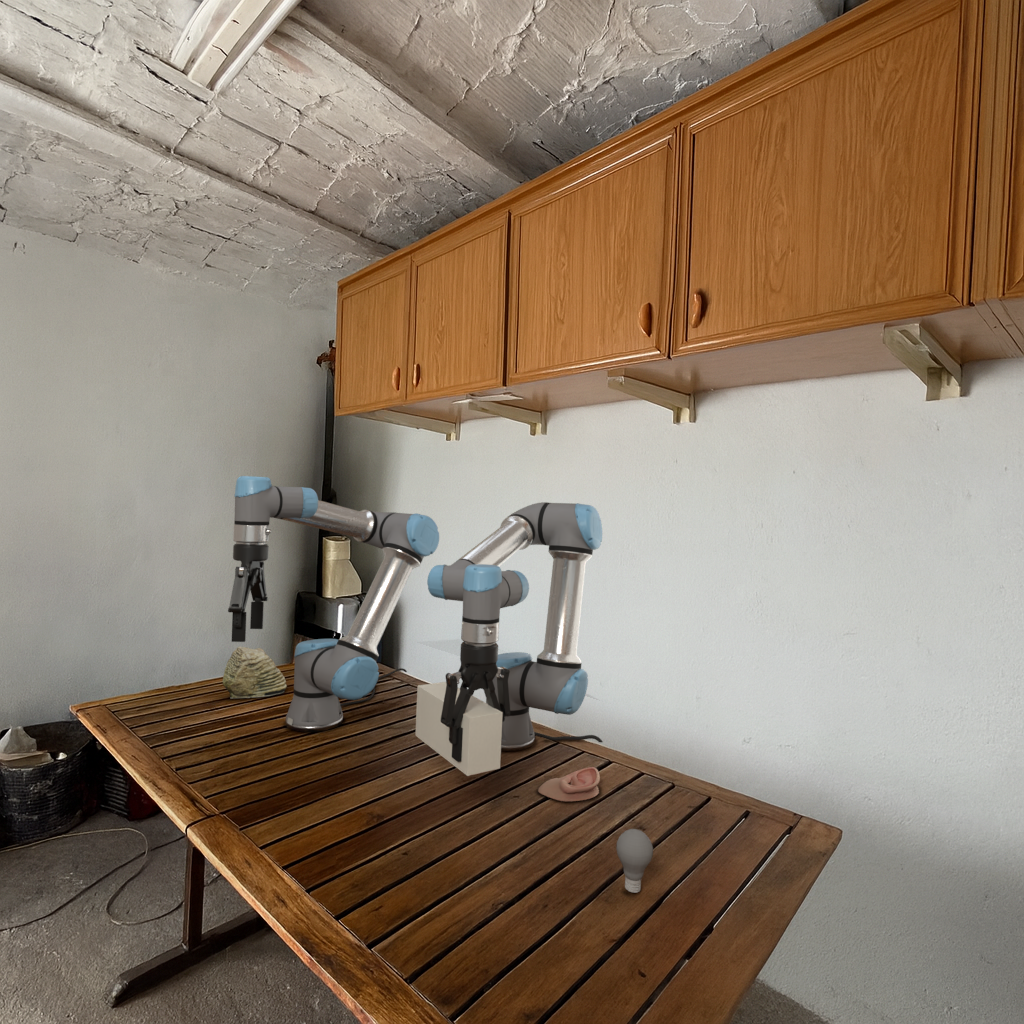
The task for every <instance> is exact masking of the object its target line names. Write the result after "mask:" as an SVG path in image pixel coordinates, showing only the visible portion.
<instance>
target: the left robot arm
mask: <svg viewBox="0 0 1024 1024" xmlns="http://www.w3.org/2000/svg"><path fill="white" fill-rule="evenodd" d="M234 489H235V490H234V495H233V496H234V523H233V538H232V539H233V540H232V541H233V542H235V543H234V545H233V547H232V559H233V560H234V561H235V562H236V561H237V562H240V566H235V569H234V570H235V571H234V579H233V585H232V586H233V587H232V591H231V595H230V601H229V606H228V608H227V613H232V614H231V615H232V618H231V619H232V621H231V643H245V642H246V638H247V637H246V634H247V611H246V608H247V603H248V599H249V596H250V595H251V597H252V598H251V599H252V601H251V602H250V621H249V623H250V624H249V625H250V626H249V629H250V630H263V628H264V602H268V600H269V598H268V594H267V585H266V576H265V562H266V561H267V560H269V548H270V547H269V545H268V542H269V537H270V534H271V533H272V529H271V528H270V522H271V521H270V520H271V518H272V519H278V520H282V521H287V522H291V523H295V524H298V525H304V526H306V527H307V526H308V527H312V528H316V529H320V530H324V531H328V532H333V533H337V534H341V535H345V536H349V537H353V539H354V540H355V541H357V542H358V543H363V544H367V545H369V546H372V547H375V548H378V549H381V551H382V553H383V555H384V557H383V560H382V561H381V563H380V565H379V568H378V570H377V572H376V574H375V576H374V578H373V580H372V582H371V584H370V586H369V588H368V591H367V592H366V595H365V597H364V598H363V601H362V603H361V606H360V608H359V610H358V612H357V614H356V616H355V618H354V620H353V622H352V623H351V626H350V628H349V631H348V632H347V634H346V635H345V636H342V637H340V638H339V639H337V638H318V639H308V640H304V641H300V642H299V643H297V644H296V646H295V650H294V655H293V657H294V672H293V673H294V674H293V695H292V696H293V697H292V699H291V702H290V704H289V708H288V711H287V713H286V715H285V726H286V728H287V729H289V730H291V731H294V732H295V731H296V732H301V733H316V732H325V731H329V730H332V729H335V728H337V727H339V726H340V725H342V723H343V722H344V714H343V709H342V707H344V706H351V705H356V704H360V703H364V702H367V701H369V700H371V699H372V698H373V697H374V695H375V694H376V688H375V687H376V686H377V683H378V680H380V679H383V678H385V677H389V676H391V675H393V674H395V673H397V672H400V671H403V672H405V673H407V672H408V671H407V670H406V669H405V668H404V667H403V668H402V667H401V668H397V669H394V670H393V671H391V672H387V673H386V674H382V675H380V672H379V669H380V668H379V665H378V663H377V661H378V659H379V656H380V654H379V651H378V645H379V644H380V641H381V639H382V637H383V635H384V632H385V630H386V628H387V626H388V624H389V621H390V619H391V617H392V615H393V612H394V611H395V608H396V606H397V605H398V602H399V599H400V598H401V595H402V593H403V591H404V589H405V586H406V584H407V582H408V580H409V578H410V575H411V573H412V571H413V570H414V569H417V568H418V567H420V566H421V564H422V562H423V560H424V558H425V557H429V556H430V555H433V554H434V553H435V552H436V550H437V549H438V546H439V543H440V531H439V527H438V525H437V523H436V521H435V520H434V519H433V518H432V517H430V516H428V515H426V514H421V513H417V512H416V513H405V512H394V511H393V512H389V511H388V512H387V511H374V510H370V509H362V510H360V511H359V510H356V509H353V508H349V507H345V506H341V505H338V504H334V503H330V502H327V501H323V500H319V497H318V494H317V492H316V491H315V490H314V489H313V488H311V487H304V486H280V485H279V486H277V485H272V479H271V478H270V477H267V476H254V475H253V476H251V475H240V476H239V477H238V478H237V479H236V481H235V488H234ZM395 671H396V672H395ZM371 692H372V693H371ZM370 693H371V695H369V694H370ZM368 695H369V697H367V698H364V697H366V696H368ZM362 698H364V699H362ZM340 699H341V700H347V702H343V703H341V702H340Z"/></svg>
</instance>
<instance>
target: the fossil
mask: <svg viewBox="0 0 1024 1024" xmlns="http://www.w3.org/2000/svg"><path fill="white" fill-rule="evenodd" d="M222 676H223V677H222V685H223V687H224V688H225V690H226V691H228V693H229V698H230V699H250V698H264V697H271V696H275V695H281V694H284V693H285V691H286V689H287V687H288V686H287V680H286V678H285V676H284V674H283V673H282V672H281V669H279V668H278V667H277V665H276V663H275V662H274V660H273V659H272V658H271V657H270V656H269V655H268V654H267V653H266V652H265V650H264V649H263V648H260V647H258V648H251V647H247V646H246V647H245V646H238V647H237V648H236V649H235V650H233V651H232V653H231V656H230V657H229V659H228V660H227V663H226V666H225V668H224V671H223V675H222Z"/></svg>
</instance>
